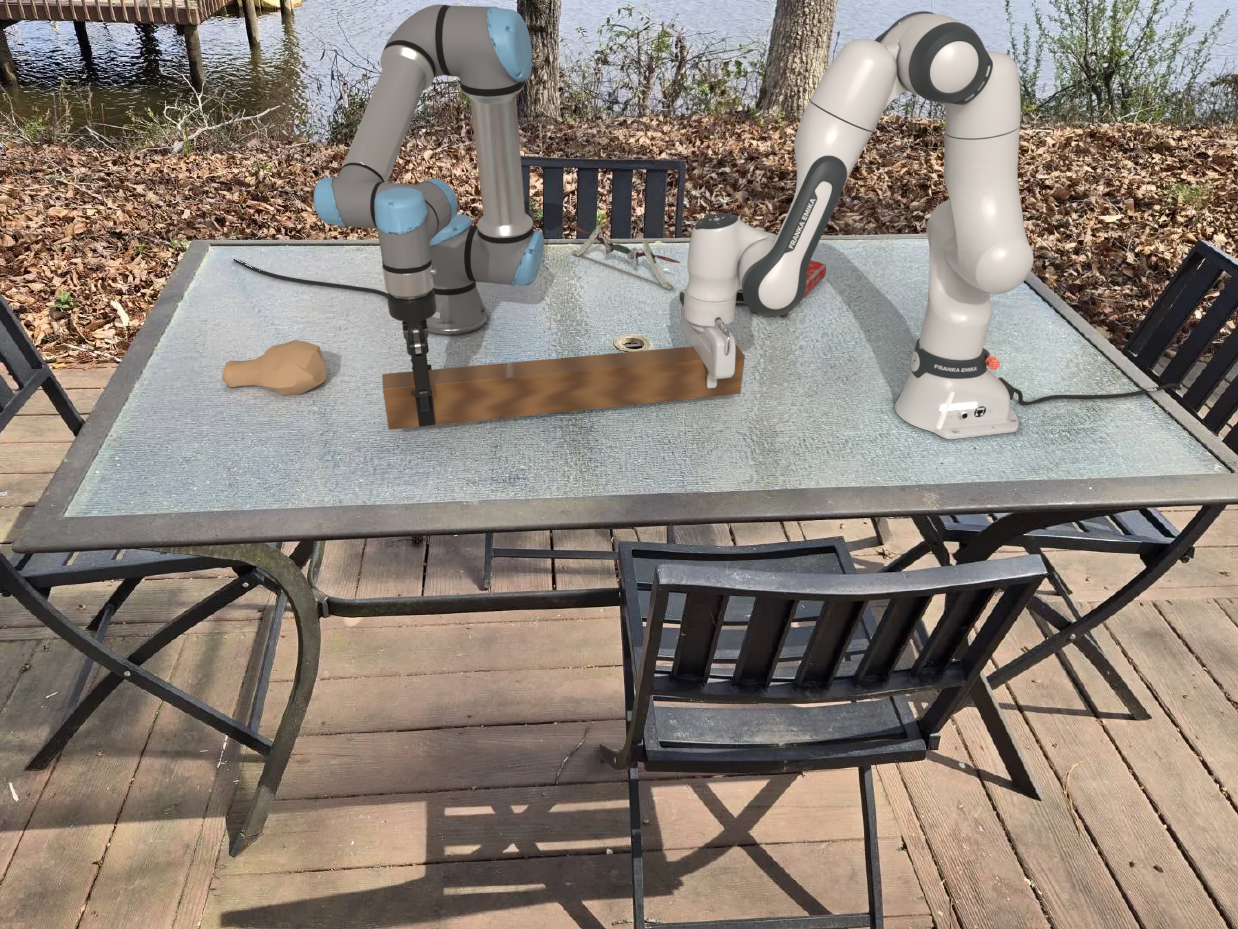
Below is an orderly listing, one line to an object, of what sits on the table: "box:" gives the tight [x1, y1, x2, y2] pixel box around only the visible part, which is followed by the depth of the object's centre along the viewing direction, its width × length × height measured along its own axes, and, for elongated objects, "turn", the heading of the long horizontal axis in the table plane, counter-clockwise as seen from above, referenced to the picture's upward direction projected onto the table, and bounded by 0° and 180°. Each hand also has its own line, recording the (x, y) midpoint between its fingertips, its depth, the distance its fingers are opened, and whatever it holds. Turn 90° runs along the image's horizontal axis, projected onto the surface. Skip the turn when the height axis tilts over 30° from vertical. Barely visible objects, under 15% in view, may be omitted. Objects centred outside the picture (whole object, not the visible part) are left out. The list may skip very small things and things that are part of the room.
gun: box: [736, 259, 827, 318], centre depth 215 cm, size 4×31×19 cm
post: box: [381, 343, 746, 431], centre depth 156 cm, size 64×5×8 cm, turn 104°
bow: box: [567, 223, 681, 290], centre depth 222 cm, size 39×2×10 cm, turn 47°
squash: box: [221, 339, 327, 396], centre depth 168 cm, size 11×20×9 cm, turn 90°
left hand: (425, 415), depth 152 cm, fingers closed on post, 5 cm apart
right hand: (704, 377), depth 162 cm, fingers closed on post, 5 cm apart
